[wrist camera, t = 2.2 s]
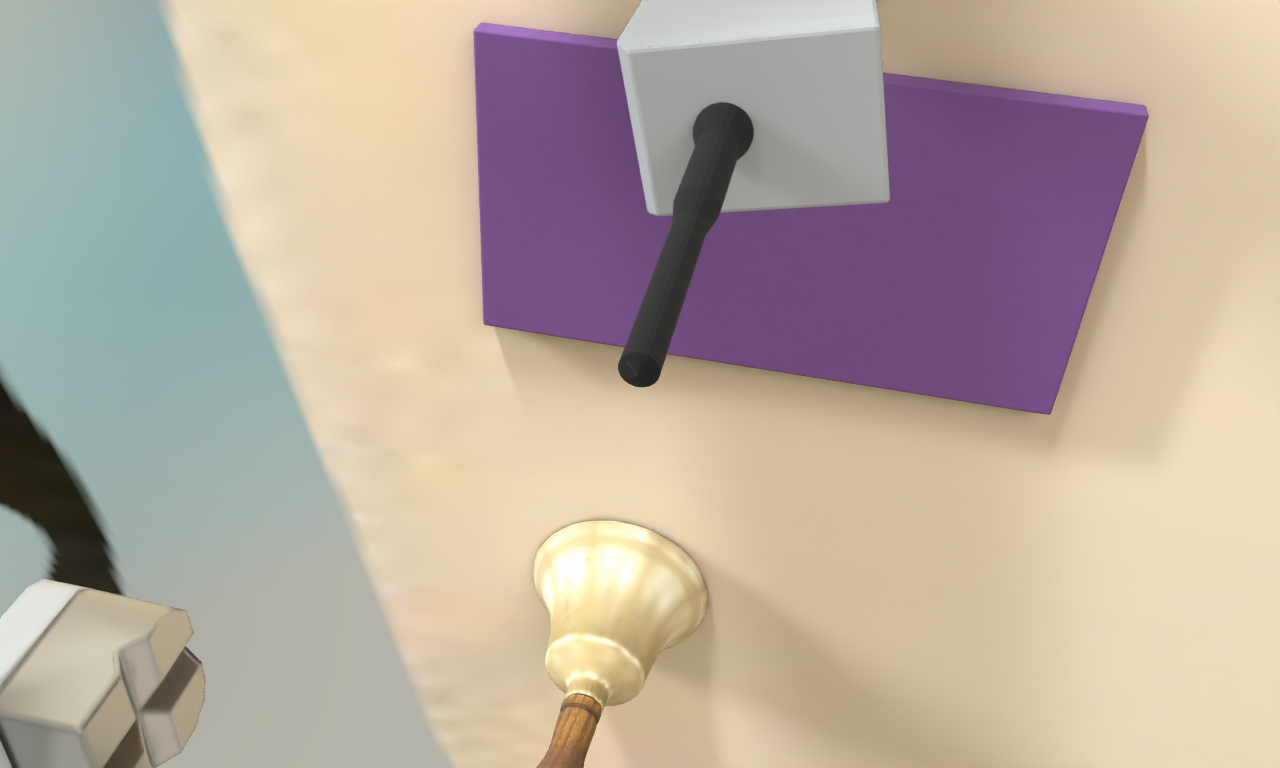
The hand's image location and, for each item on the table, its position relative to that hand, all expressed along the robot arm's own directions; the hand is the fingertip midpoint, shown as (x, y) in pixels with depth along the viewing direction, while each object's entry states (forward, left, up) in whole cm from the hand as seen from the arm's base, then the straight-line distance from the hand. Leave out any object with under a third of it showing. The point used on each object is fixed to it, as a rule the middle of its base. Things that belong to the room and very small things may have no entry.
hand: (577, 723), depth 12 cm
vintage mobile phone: (0, 0, -31) cm, 31 cm away
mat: (+11, 0, -31) cm, 33 cm away
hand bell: (+31, -5, -31) cm, 44 cm away
